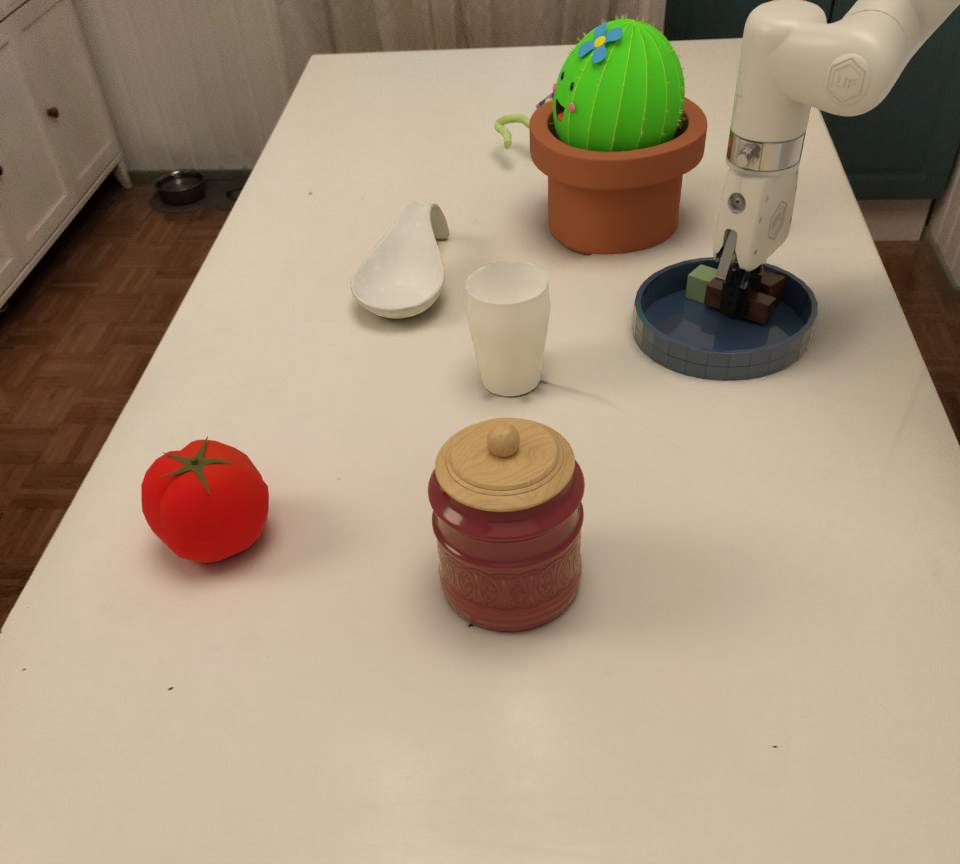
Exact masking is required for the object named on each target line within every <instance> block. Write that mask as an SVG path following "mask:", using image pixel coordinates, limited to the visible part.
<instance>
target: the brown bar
mask: <svg viewBox="0 0 960 864" xmlns="http://www.w3.org/2000/svg"><path fill="white" fill-rule="evenodd" d="M722 287H723V283H722V281H719V280H716V279H715V278H714V279H713V280H712V281H711V282H710V283H708V284H707V286H706V292H705V299H704V304H705V305H708V306H711V307H714V308H717V309H719V306H720V300H721V293H722ZM775 302H776V298H775V297H772V296H769V295H766V294H763V293H759V292H756V291H753V290H750V294H749V299H748V305H747V311H746V316H745V317H744V318H746V319H749V320H751V321H754V322H757V323H760V324H763V325H765V324H766V323H767V322H768V321H769V320H770V319H771V318H772V315H773V310H774V306H775Z"/></svg>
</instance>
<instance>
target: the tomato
mask: <svg viewBox="0 0 960 864" xmlns="http://www.w3.org/2000/svg"><path fill="white" fill-rule="evenodd" d="M208 438H209V436H208V435H207V436H206V438H205V439H196V440H192V441H190V442H189V443H188V444H186V445H185V446H184V447H183V448H181V449H180V450H179V449H178V450H171V451H170V450H169V451H167V452H164V451H162V453H163V454H162V455H161V456H159V457H157V458H156V459H154V461H153V462H152V463H151V464H150V466H149V467H148V468H147V469H146V470H145V473H144V476H143V479H142V481H141V484H140V485H141V486H140V488H141V489H140V491H141V496H140V497H141V511H142V513H143V517H144V519H145V521H146V524H147V525H148V526H149V528H150V530H151V531H152V533H153V534H154V535H155V536H156V537H157V538H158V539H159V540H160V541H161V542H162V543H163V544H164V545H165V546H167V548H168V549H169V550H171V552H173V553H174V554H175V555H176V556H177V557H178V558H181V559H185V560H188V561H192V562H196V563H200V564H206V563H216V562H221V561H223V560H226V559H227V558H230V557H232V556H235V555H236V554H239V553H241V552H243V551H246V550H248V549H249V548H250V547H251V546H252V545H253V544H254V543H255V542H256V541H257V540H258V539H259V537H260V536H261V534H262V533H263V530H264V527H265V525H266V523H267V520H268V514H269V508H270V507H269V506H270V492H269V485H268V484H267V483H266V482H265V480H264V479H263V475H262V474H261V473H260V471H259V470H258V468H257V467H256V465H255V464H254V463H253V461H252V460H251V458H250V457H249V456H248V454H246V453H244V452H243V451H241V450H239V449H238V448H236V447H234V446H232V445H229V444H226V443H223V442H221V441H218V440H213V439H208Z"/></svg>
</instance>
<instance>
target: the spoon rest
mask: <svg viewBox="0 0 960 864" xmlns="http://www.w3.org/2000/svg"><path fill="white" fill-rule="evenodd" d="M449 229H450V228H449V224H448V222H447V219H446V216H445V214H444V212H443V210H442V208H441V207H440V206H439V204H437V203H436V202H429V203H420V202H416V201H411V202H409V203H408V204H406V205H405V206H404V208H403V209H402V210H401V212H400V214H399V215H398V216H397V217H396V220H395V221H394V222H393V224H392V225H391V226H390V228H389V229H388V230H387V232H385V234H384V235H383V237H382V238H381V239H379V241H378V242H377V243H376V244H375V246H373V248H372V249H371V250H370V251H369V253H368V254H367V255H366V256H365V257H364V259H363V260H362V261H361V262H360V264H359V265H358V267H357V268H356V270H355V271H354V273H353V275H352V277H351V280H350V291H351V294H352V296H353V298H354V299H355V301H356V302H357V303H358V304H359V305H360V306H361V307H362V308H364V309H366V310H367V311H368V312H370V313H372V314H374V315H376V316H379V317H382V318H386V319H405V318H410V317H414V316H417V315H419V314H421V313H424V312H425V311H427V310H428V309H429V308H430V307H432V306H433V305H434V303H435V302H436V301H437V299H438V298H439V297H440V295H441V293H442V292H443V291H442V290H443V288H444V286H445V282H446V269H445V263H444V260H443V256H442V253H441V251H440V247H439V245H438V242H437V240H445V239H447V238H449V237H450V230H449Z"/></svg>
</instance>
